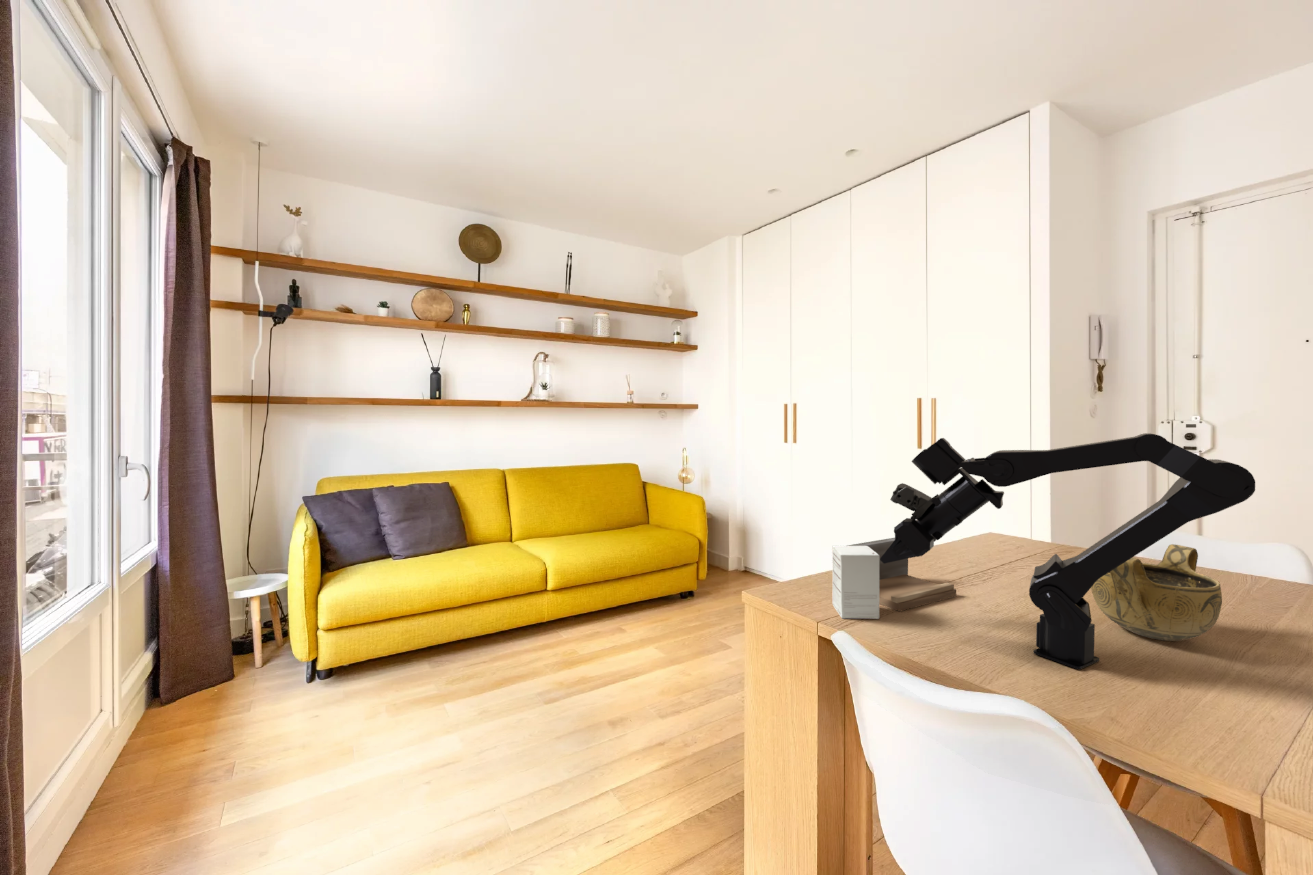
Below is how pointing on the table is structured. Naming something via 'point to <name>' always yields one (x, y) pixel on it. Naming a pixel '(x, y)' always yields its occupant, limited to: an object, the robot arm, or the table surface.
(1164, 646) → the table surface
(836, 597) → the supplement box
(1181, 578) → the ceramic bowl
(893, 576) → the ledge
